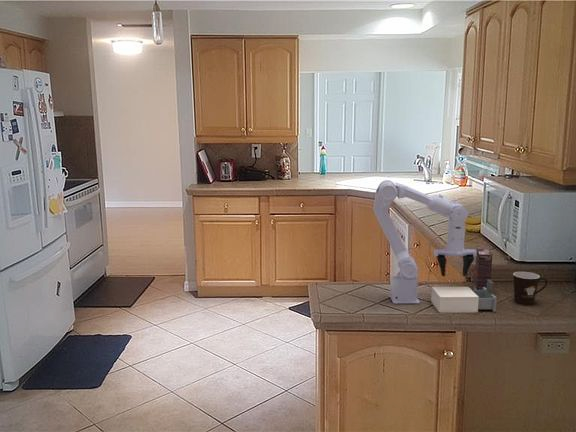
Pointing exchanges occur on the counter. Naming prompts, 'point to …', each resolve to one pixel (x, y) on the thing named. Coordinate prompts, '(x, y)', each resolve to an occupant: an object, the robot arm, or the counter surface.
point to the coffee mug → (526, 287)
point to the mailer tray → (486, 297)
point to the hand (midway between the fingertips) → (453, 275)
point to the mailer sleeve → (454, 299)
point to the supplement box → (482, 268)
